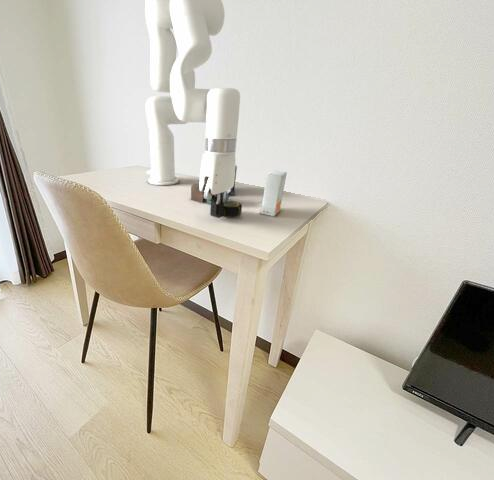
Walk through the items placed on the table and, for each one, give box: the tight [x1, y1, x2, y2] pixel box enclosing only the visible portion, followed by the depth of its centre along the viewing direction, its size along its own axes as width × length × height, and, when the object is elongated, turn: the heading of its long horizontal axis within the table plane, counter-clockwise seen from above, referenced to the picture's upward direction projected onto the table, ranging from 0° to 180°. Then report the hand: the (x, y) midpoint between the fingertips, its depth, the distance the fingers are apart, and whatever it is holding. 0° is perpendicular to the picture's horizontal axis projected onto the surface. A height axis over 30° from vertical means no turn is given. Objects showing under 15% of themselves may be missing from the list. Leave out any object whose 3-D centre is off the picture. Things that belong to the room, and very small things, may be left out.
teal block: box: [206, 193, 230, 205], centre depth 84 cm, size 5×5×5 cm
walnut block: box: [190, 182, 207, 203], centre depth 87 cm, size 5×5×5 cm
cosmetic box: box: [260, 169, 288, 217], centre depth 76 cm, size 6×4×12 cm
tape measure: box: [222, 200, 243, 218], centre depth 74 cm, size 7×7×4 cm
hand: (216, 215), depth 72 cm, fingers closed
